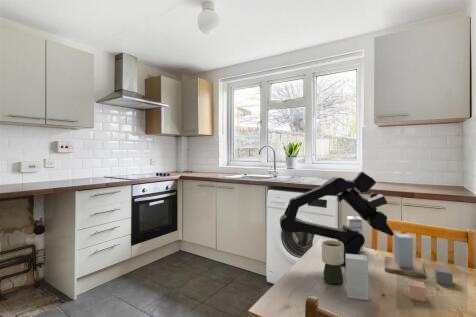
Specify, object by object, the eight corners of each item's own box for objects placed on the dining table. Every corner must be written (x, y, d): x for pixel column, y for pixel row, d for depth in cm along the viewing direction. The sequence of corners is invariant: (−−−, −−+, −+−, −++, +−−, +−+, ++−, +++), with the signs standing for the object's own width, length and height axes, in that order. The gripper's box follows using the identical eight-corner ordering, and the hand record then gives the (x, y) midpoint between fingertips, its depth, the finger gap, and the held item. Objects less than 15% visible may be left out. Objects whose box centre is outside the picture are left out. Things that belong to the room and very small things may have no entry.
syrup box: (363, 251, 113) (363, 219, 113) (349, 251, 114) (349, 218, 114) (360, 247, 118) (359, 216, 118) (346, 246, 119) (346, 215, 119)
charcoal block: (437, 283, 84) (436, 271, 84) (435, 278, 88) (434, 266, 88) (452, 286, 82) (452, 273, 82) (450, 280, 86) (449, 269, 86)
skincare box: (367, 293, 78) (366, 255, 78) (369, 301, 74) (368, 260, 74) (345, 290, 80) (345, 253, 80) (346, 297, 76) (346, 258, 76)
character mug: (353, 287, 82) (352, 247, 82) (333, 290, 81) (333, 249, 81) (332, 273, 93) (332, 237, 93) (315, 275, 91) (314, 239, 91)
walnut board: (384, 270, 94) (384, 267, 94) (385, 259, 104) (385, 256, 104) (425, 278, 88) (425, 274, 88) (421, 265, 98) (421, 262, 98)
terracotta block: (409, 298, 76) (408, 285, 76) (408, 292, 79) (408, 279, 79) (425, 302, 74) (425, 288, 74) (424, 295, 77) (423, 282, 77)
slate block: (399, 266, 94) (398, 237, 94) (394, 261, 98) (394, 233, 98) (412, 267, 93) (412, 237, 93) (407, 262, 97) (407, 234, 97)
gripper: (380, 190, 89) (416, 223, 86) (365, 184, 107) (395, 211, 105) (356, 212, 91) (391, 245, 88) (346, 203, 109) (374, 230, 106)
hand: (388, 231), depth 97 cm, fingers open, 9 cm apart
